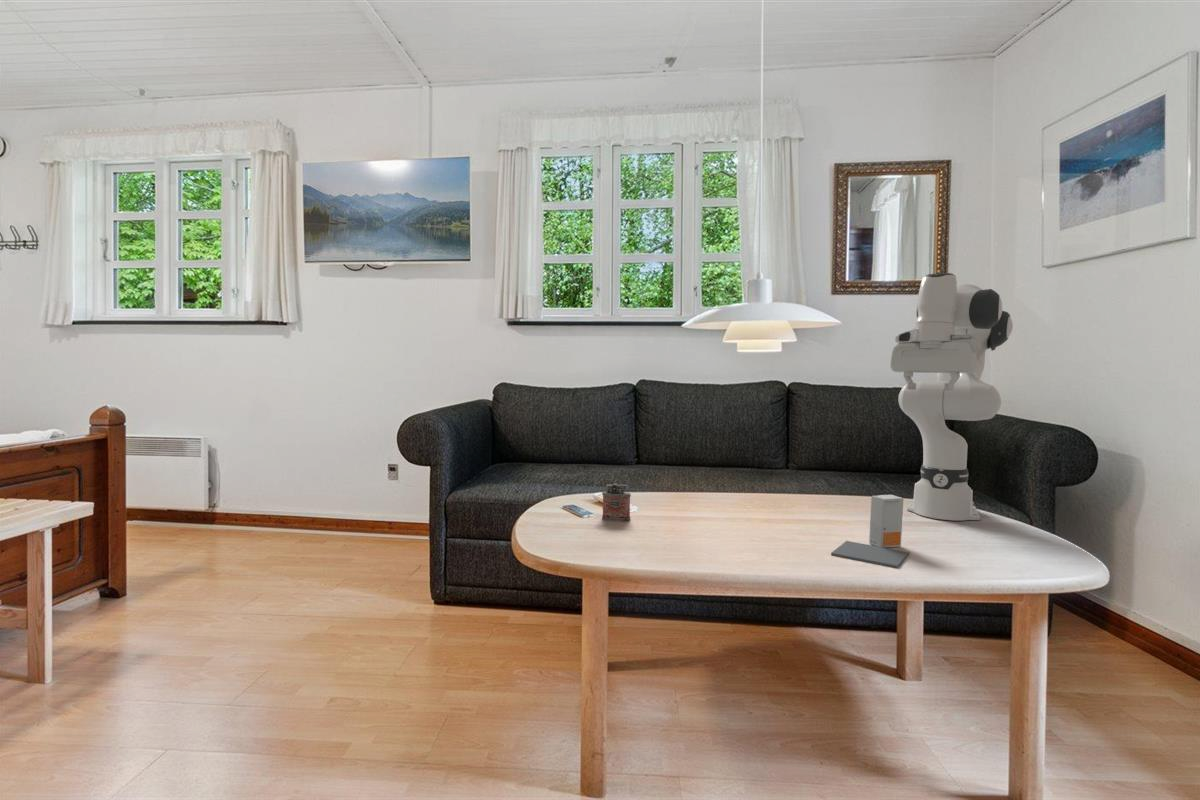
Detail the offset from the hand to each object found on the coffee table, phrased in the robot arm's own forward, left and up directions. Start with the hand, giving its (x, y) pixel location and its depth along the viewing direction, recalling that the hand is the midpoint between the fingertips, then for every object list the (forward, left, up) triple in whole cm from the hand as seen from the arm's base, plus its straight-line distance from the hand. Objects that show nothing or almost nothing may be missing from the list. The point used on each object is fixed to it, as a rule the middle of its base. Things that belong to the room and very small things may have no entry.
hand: (929, 390), depth 155 cm
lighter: (+38, -71, -38) cm, 88 cm away
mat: (+26, -7, -37) cm, 46 cm away
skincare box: (+16, -6, -38) cm, 41 cm away
